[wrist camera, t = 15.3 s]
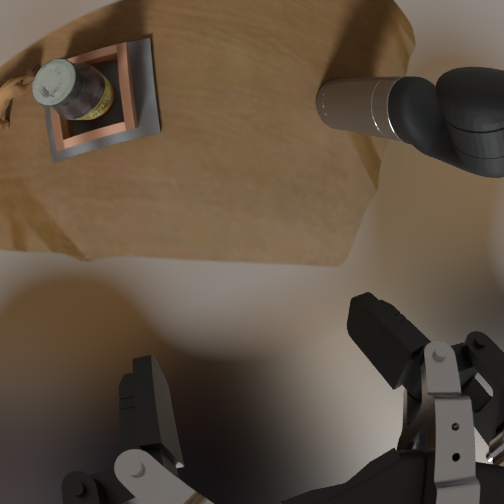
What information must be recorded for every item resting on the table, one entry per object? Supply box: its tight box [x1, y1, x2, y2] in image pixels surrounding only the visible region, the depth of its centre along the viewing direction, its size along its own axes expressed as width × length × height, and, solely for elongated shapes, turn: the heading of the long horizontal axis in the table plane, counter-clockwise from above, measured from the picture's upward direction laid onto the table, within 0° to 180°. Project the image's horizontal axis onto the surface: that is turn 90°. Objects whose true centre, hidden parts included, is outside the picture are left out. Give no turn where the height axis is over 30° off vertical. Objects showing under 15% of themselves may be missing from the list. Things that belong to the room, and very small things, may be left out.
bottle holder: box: [44, 38, 160, 162], centre depth 29 cm, size 17×15×6 cm
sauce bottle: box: [32, 58, 114, 120], centre depth 23 cm, size 6×6×20 cm
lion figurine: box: [0, 65, 39, 129], centre depth 23 cm, size 15×5×9 cm, turn 137°
